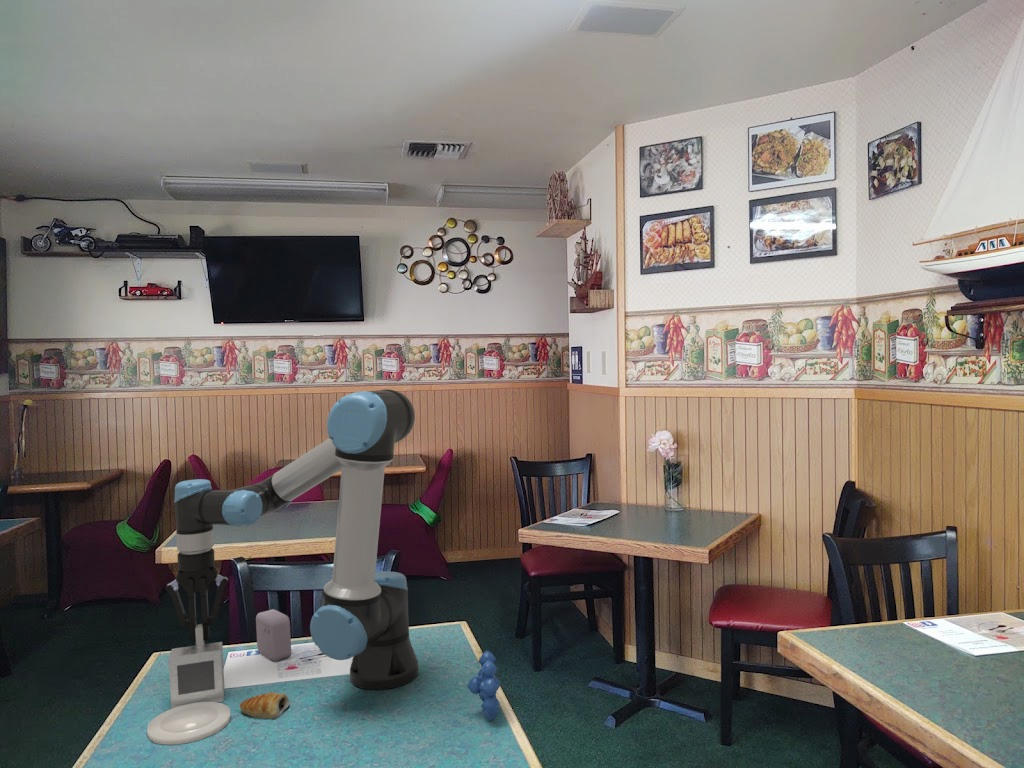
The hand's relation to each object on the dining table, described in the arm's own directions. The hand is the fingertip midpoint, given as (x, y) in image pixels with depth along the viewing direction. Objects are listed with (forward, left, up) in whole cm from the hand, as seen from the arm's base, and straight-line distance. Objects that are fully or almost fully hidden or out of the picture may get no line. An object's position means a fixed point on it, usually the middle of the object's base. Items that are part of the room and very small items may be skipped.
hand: (200, 655), depth 166 cm
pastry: (-22, +10, -7) cm, 25 cm away
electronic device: (-8, -17, -7) cm, 20 cm away
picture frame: (-5, +8, -7) cm, 11 cm away
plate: (-10, +18, -7) cm, 21 cm away
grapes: (-67, +6, -7) cm, 67 cm away
